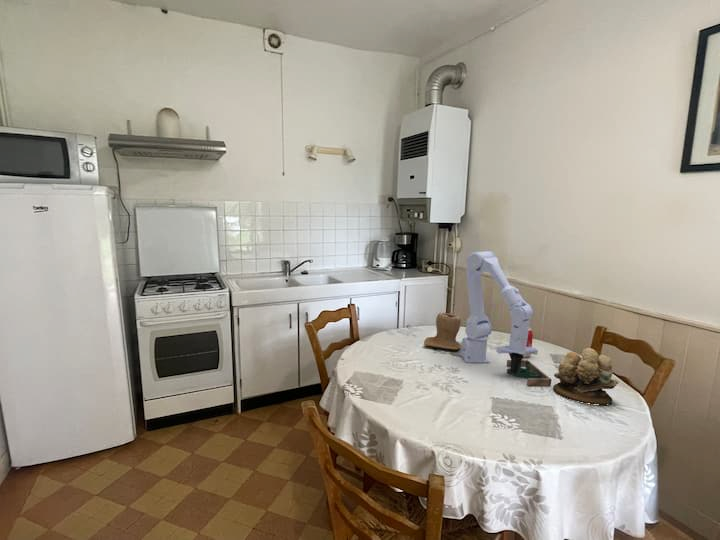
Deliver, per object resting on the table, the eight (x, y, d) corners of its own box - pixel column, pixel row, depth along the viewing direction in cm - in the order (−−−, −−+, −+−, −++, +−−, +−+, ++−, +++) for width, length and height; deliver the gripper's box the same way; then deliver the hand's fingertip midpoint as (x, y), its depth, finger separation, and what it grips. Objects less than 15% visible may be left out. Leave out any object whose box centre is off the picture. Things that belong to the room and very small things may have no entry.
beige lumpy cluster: (611, 394, 123) (619, 346, 120) (619, 411, 113) (627, 359, 110) (551, 382, 131) (557, 337, 128) (553, 397, 120) (559, 348, 117)
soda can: (533, 358, 151) (536, 331, 149) (516, 358, 151) (518, 330, 149) (526, 352, 158) (529, 325, 156) (510, 351, 158) (512, 325, 156)
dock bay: (527, 386, 127) (528, 379, 127) (506, 365, 144) (507, 359, 143) (550, 386, 128) (551, 379, 127) (526, 365, 144) (527, 359, 144)
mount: (506, 374, 136) (507, 361, 135) (507, 369, 140) (508, 357, 139) (539, 380, 132) (540, 367, 131) (538, 375, 136) (540, 363, 135)
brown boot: (461, 344, 166) (463, 312, 163) (458, 353, 155) (461, 319, 152) (428, 339, 171) (429, 308, 168) (423, 348, 160) (425, 315, 157)
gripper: (504, 340, 129) (499, 376, 131) (544, 341, 130) (539, 377, 132) (495, 333, 136) (491, 367, 138) (534, 334, 136) (529, 368, 139)
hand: (514, 371), depth 136 cm, fingers closed, pressing on mount
